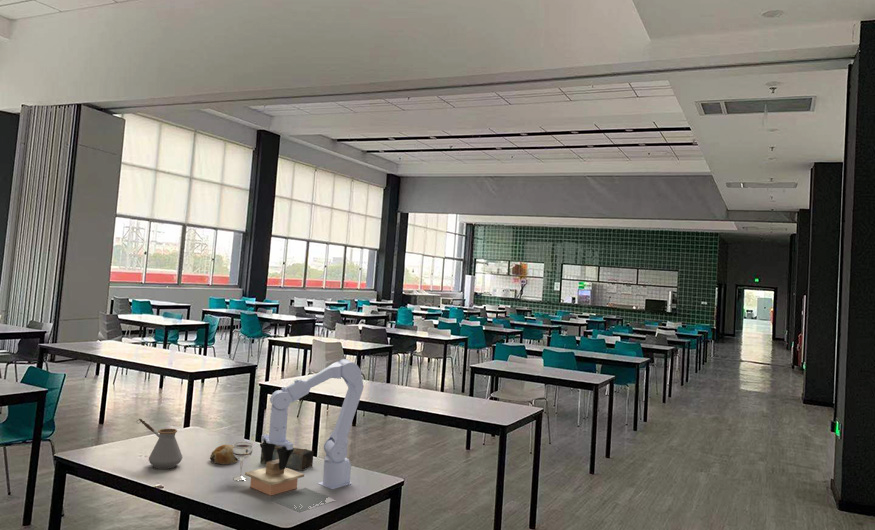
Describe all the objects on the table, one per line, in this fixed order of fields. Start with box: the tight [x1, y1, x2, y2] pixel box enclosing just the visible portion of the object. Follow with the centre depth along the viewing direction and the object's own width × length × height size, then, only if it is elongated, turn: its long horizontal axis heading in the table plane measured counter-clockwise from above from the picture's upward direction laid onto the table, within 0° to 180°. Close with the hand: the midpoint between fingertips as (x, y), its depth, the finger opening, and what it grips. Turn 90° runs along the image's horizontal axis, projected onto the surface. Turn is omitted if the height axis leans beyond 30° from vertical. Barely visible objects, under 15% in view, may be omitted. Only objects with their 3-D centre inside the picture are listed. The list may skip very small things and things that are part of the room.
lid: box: [244, 459, 305, 485], centre depth 216 cm, size 14×14×5 cm
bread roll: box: [209, 444, 239, 465], centre depth 244 cm, size 10×10×8 cm
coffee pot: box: [136, 418, 183, 470], centre depth 235 cm, size 21×12×15 cm, turn 65°
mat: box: [267, 487, 329, 513], centre depth 207 cm, size 16×16×1 cm
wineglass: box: [232, 441, 254, 482], centre depth 225 cm, size 7×7×12 cm
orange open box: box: [249, 477, 299, 497], centre depth 216 cm, size 11×11×4 cm
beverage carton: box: [260, 445, 314, 471], centre depth 245 cm, size 8×19×7 cm, turn 71°
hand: (275, 466), depth 216 cm, fingers open, 7 cm apart
